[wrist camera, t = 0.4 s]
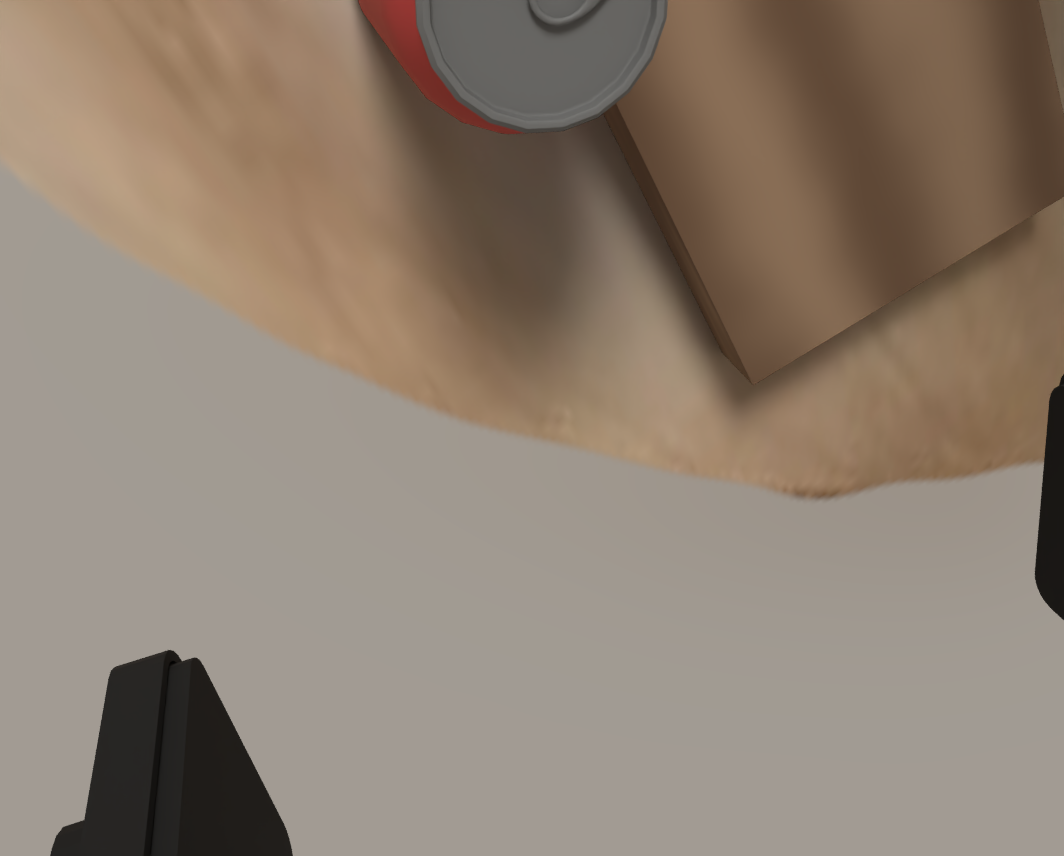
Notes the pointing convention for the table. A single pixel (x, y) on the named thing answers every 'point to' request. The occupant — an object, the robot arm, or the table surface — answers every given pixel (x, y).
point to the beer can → (521, 56)
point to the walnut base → (836, 154)
